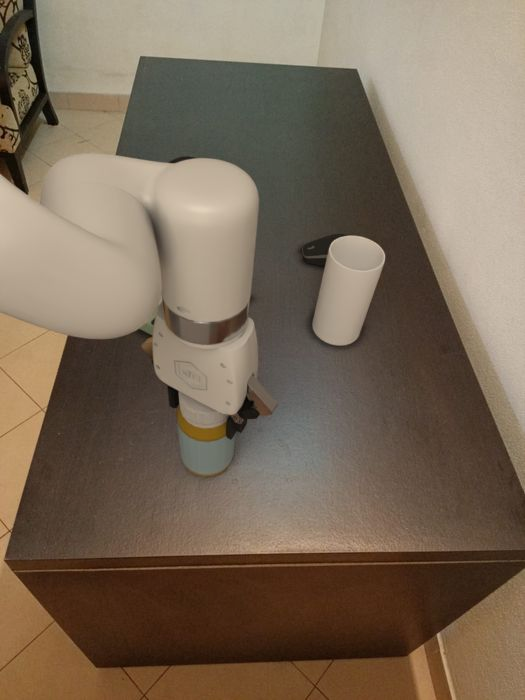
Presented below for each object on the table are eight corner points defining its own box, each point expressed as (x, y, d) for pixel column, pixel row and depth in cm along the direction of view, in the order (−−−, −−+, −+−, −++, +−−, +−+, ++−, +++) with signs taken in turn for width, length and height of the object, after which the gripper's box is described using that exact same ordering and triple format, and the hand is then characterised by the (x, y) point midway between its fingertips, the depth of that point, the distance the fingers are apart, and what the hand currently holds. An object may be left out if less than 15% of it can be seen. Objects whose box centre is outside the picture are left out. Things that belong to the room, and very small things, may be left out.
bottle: (176, 476, 60) (169, 414, 49) (185, 428, 64) (180, 361, 53) (230, 481, 60) (236, 420, 49) (235, 433, 65) (241, 367, 53)
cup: (354, 351, 77) (380, 278, 64) (306, 337, 78) (323, 262, 66) (364, 317, 82) (389, 243, 70) (318, 304, 83) (336, 229, 71)
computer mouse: (300, 244, 94) (302, 227, 91) (360, 246, 95) (365, 230, 92) (303, 267, 89) (305, 250, 86) (366, 269, 90) (371, 253, 87)
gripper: (99, 292, 41) (126, 403, 55) (273, 378, 37) (256, 476, 50) (152, 247, 45) (165, 361, 59) (313, 320, 41) (287, 424, 55)
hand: (207, 413), depth 55 cm, fingers closed on bottle, 7 cm apart
